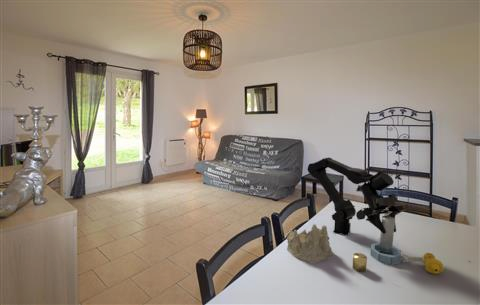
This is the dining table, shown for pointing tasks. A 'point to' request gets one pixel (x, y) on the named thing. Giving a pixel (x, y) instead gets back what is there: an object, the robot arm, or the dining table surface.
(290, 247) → the jagged beige rock
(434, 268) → the pressure relief valve
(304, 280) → the dining table surface
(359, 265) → the short brass cylinder
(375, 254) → the collar
